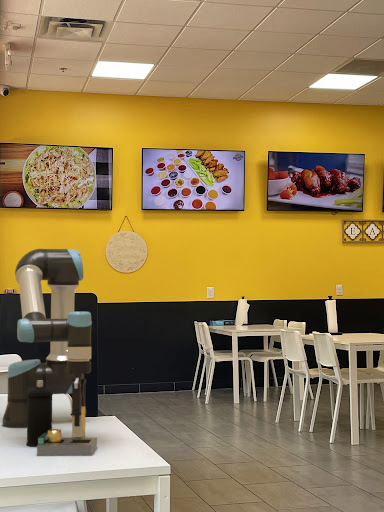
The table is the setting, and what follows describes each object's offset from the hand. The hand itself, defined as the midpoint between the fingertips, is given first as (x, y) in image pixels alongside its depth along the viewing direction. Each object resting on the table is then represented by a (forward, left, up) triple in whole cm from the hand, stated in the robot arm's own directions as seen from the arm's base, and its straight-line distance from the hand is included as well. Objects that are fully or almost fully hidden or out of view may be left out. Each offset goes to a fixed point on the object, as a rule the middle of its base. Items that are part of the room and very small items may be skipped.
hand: (78, 435), depth 230 cm
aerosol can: (-3, -13, -3) cm, 13 cm away
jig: (+8, -2, -3) cm, 9 cm away
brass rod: (0, 0, -3) cm, 3 cm away
